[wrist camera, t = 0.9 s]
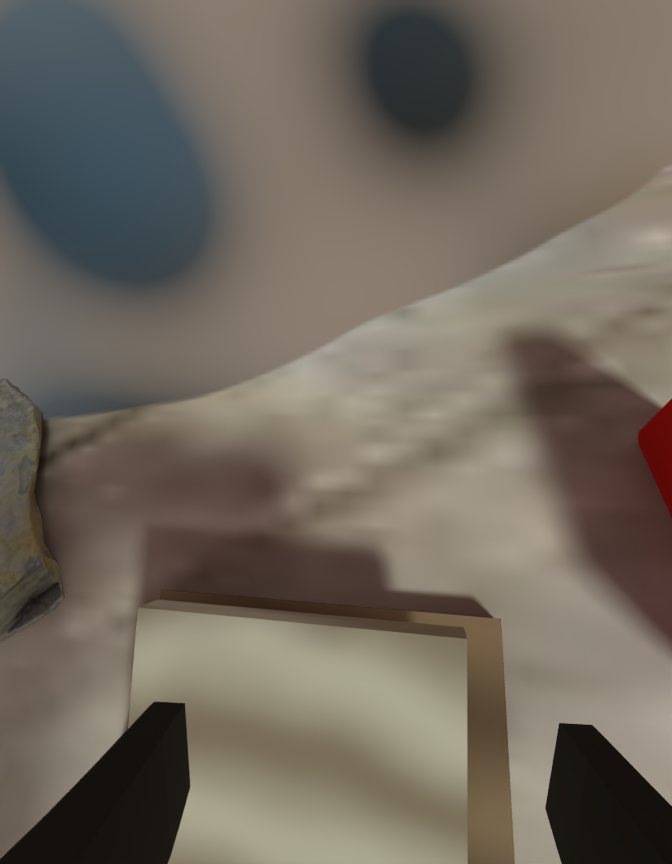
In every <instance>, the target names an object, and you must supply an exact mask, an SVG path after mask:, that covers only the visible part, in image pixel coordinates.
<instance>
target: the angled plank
mask: <svg viewBox="0 0 672 864" xmlns="http://www.w3.org/2000/svg"><path fill="white" fill-rule="evenodd" d="M153 702H173V703H185V711H186V726H187V741H188V757H189V772H190V790H189V794H188V797H187V801H186V805H185V808H184V812H183V815H182V819H181V823H180V826H179V830H178V833H177V836H176V840H175V843H174V847H173V850H172V853H171V856H170V859H169V862H168V864H468V825H467V637H466V633H465V629H464V627H456V626H445V625H434V624H423V623H412V622H401V621H389V620H378V619H367V618H356V617H345V616H334V615H323V614H312V613H301V612H290V611H279V610H268V609H257V608H246V607H235V606H224V605H213V604H202V603H191V602H180V601H169V600H158V599H157V600H155V601H153V602H150V603H148V604H145V605H143V606H140V607H138V613H137V625H136V637H135V649H134V661H133V673H132V685H131V697H130V709H129V721H128V728H129V727H130V726H131V725H132V724H133V723H134V722H135V721H136V720H137V719H138V718H139V717H140V715H141V714H142V713H143V712H144V711H145V710H146V709H147V708H148V707H149V706H150V705H151V704H152V703H153Z"/></svg>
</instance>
